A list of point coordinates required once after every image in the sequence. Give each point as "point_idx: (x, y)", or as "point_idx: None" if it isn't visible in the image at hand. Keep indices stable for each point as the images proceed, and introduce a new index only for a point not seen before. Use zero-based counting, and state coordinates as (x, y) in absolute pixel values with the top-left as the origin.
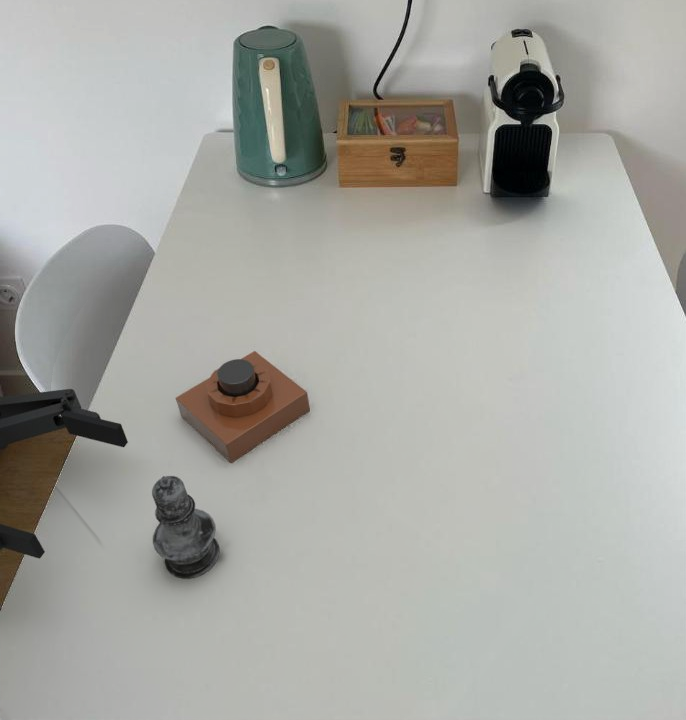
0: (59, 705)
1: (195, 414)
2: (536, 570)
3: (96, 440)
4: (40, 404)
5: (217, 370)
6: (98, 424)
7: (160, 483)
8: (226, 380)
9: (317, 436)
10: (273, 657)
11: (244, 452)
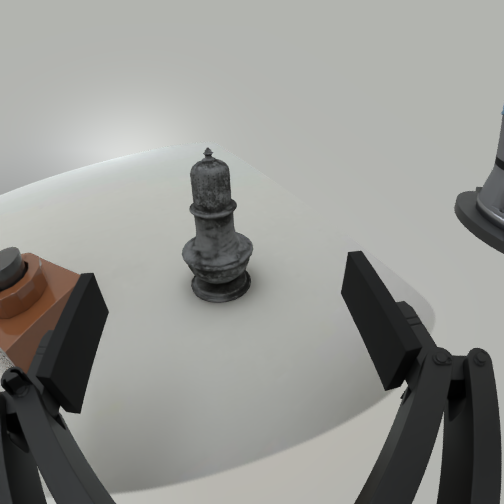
0: (405, 287)
1: (35, 320)
2: (174, 172)
3: (94, 356)
4: (13, 462)
5: None
6: (79, 299)
7: (211, 159)
8: (11, 259)
9: (68, 260)
10: (278, 215)
11: None
